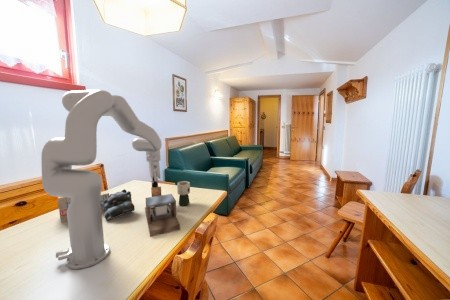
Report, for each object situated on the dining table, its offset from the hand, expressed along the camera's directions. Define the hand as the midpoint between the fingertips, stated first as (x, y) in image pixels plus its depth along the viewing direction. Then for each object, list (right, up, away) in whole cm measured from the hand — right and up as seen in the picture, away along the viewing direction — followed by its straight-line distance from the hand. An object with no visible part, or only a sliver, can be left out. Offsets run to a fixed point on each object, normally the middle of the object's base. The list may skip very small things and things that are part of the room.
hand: (155, 189), depth 113 cm
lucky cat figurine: (-15, -11, -12) cm, 22 cm away
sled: (+7, -8, -13) cm, 17 cm away
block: (+9, -9, -18) cm, 23 cm away
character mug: (+16, -9, +2) cm, 19 cm away
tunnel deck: (+9, -12, -18) cm, 23 cm away
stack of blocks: (-33, -11, -10) cm, 36 cm away
